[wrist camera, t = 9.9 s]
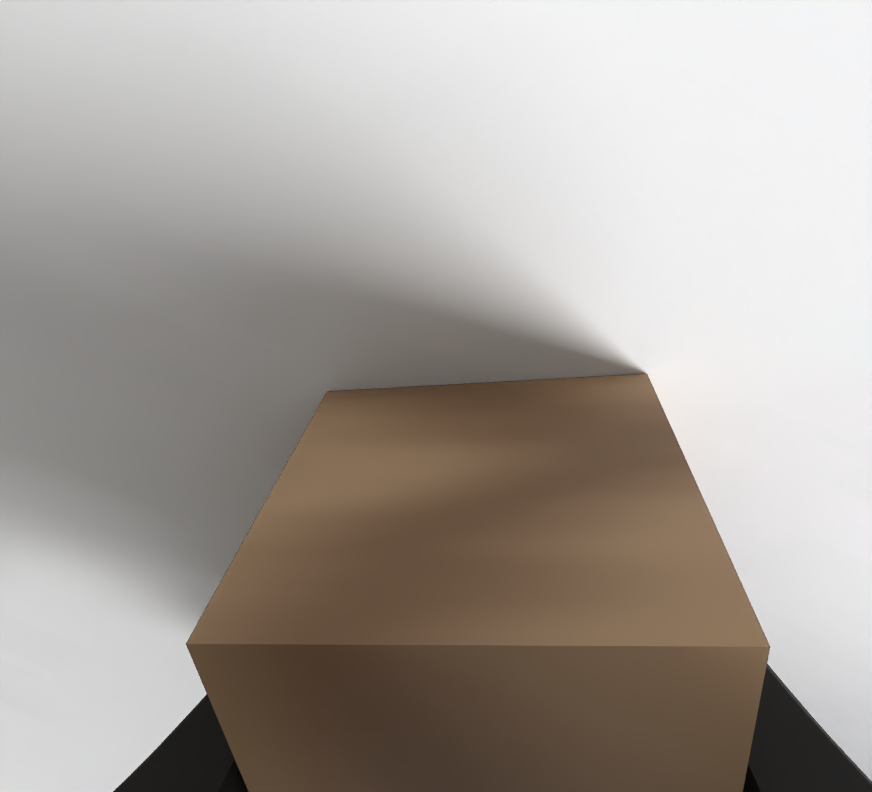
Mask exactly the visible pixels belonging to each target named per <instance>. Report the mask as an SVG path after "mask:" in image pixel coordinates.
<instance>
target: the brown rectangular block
mask: <svg viewBox="0 0 872 792" xmlns="http://www.w3.org/2000/svg"><path fill="white" fill-rule="evenodd" d="M186 645H187V648H188V650H189V652H190V655H191V657H192V659H193V662H194V664H195V666H196V669H197V671H198V673H199V676H200V678H201V681H202V683H203V685H204V688H205V690H206V692H207V695H208V697H209V699H210V702H211V704H212V707H213V709H214V711H215V714H216V716H217V718H218V721H219V723H220V725H221V728H222V730H223V733H224V735H225V737H226V740H227V742H228V744H229V747H230V749H231V751H232V754H233V756H234V759H235V761H236V763H237V766H238V768H239V770H240V773H241V775H242V777H243V780H244V782H245V785H246V787H247V789H248V792H743V787H744V782H745V777H746V771H747V766H748V761H749V756H750V750H751V745H752V740H753V734H754V729H755V724H756V718H757V713H758V708H759V703H760V697H761V692H762V687H763V681H764V676H765V671H766V665H767V660H768V655H769V650H770V646H769V643H768V641H767V639H766V637H765V634H764V632H763V630H762V628H761V626H760V623H759V621H758V619H757V617H756V614H755V612H754V610H753V608H752V606H751V603H750V601H749V599H748V597H747V595H746V592H745V590H744V588H743V586H742V583H741V581H740V579H739V577H738V575H737V572H736V570H735V568H734V566H733V563H732V561H731V559H730V557H729V555H728V552H727V550H726V548H725V546H724V543H723V541H722V539H721V537H720V535H719V532H718V530H717V528H716V526H715V523H714V521H713V519H712V517H711V515H710V512H709V510H708V508H707V506H706V504H705V501H704V499H703V497H702V495H701V492H700V490H699V488H698V486H697V484H696V481H695V479H694V477H693V475H692V472H691V470H690V468H689V466H688V464H687V461H686V459H685V457H684V455H683V452H682V450H681V448H680V446H679V444H678V441H677V439H676V437H675V435H674V432H673V430H672V428H671V426H670V424H669V421H668V419H667V417H666V415H665V413H664V410H663V408H662V406H661V404H660V401H659V399H658V397H657V395H656V393H655V390H654V388H653V386H652V384H651V381H650V379H649V377H648V375H647V374H633V375H615V376H597V377H579V378H562V379H544V380H526V381H508V382H490V383H472V384H454V385H436V386H418V387H400V388H382V389H364V390H346V391H329V392H326V394H325V396H324V398H323V399H322V401H321V403H320V405H319V407H318V408H317V410H316V412H315V414H314V416H313V417H312V419H311V421H310V423H309V425H308V426H307V428H306V430H305V432H304V433H303V435H302V437H301V439H300V441H299V442H298V444H297V446H296V448H295V450H294V451H293V453H292V455H291V457H290V459H289V460H288V462H287V464H286V466H285V468H284V469H283V471H282V473H281V475H280V476H279V478H278V480H277V482H276V484H275V485H274V487H273V489H272V491H271V493H270V494H269V496H268V498H267V500H266V502H265V503H264V505H263V507H262V509H261V510H260V512H259V514H258V516H257V518H256V519H255V521H254V523H253V525H252V527H251V528H250V530H249V532H248V534H247V536H246V537H245V539H244V541H243V543H242V544H241V546H240V548H239V550H238V552H237V553H236V555H235V557H234V559H233V561H232V562H231V564H230V566H229V568H228V570H227V571H226V573H225V575H224V577H223V578H222V580H221V582H220V584H219V586H218V587H217V589H216V591H215V593H214V595H213V596H212V598H211V600H210V602H209V604H208V605H207V607H206V609H205V611H204V612H203V614H202V616H201V618H200V620H199V621H198V623H197V625H196V627H195V629H194V630H193V632H192V634H191V636H190V638H189V639H188V641H187V643H186Z"/></svg>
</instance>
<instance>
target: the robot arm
mask: <svg viewBox="0 0 872 792" xmlns="http://www.w3.org/2000/svg"><path fill="white" fill-rule="evenodd" d="M113 792H248V789H247V787H246V785H245V782H244V780H243V777H242V775H241V773H240V770H239V768H238V766H237V763H236V761H235V759H234V756H233V754H232V751H231V749H230V747H229V744H228V742H227V740H226V737H225V735H224V733H223V730H222V728H221V725H220V723H219V721H218V718H217V716H216V714H215V711H214V709H213V707H212V704H211V702H210V699H209V697H208V695H206V696H205V697H204V698H203V699H202V700H201V701H200V702H199V704H198V705H197V706H196V707H195V708H194V709H193V710H192V711H191V712H190V713H189V714H188V715H187V716H186V718H185V719H184V720H183V721H182V722H181V723H180V724H179V725H178V726H177V727H176V728H175V729H174V731H173V732H172V733H171V734H170V735H169V736H168V737H167V738H166V739H165V740H164V741H163V742H162V743H161V745H160V746H159V747H158V748H157V749H156V750H155V751H154V752H153V753H152V754H151V755H150V756H149V757H148V758H147V759H146V760H145V761H144V762H143V763H142V764H141V765H140V766H139V767H138V768H137V769H136V770H135V771H134V772H133V773H132V774H131V775H130V776H129V777H128V778H127V779H126V780H125V781H124V782H123V783H122V784H121V785H120V786H119V787H118V788H117V789H115V790H114V791H113ZM743 792H872V781H871V780H870V779H869V778H868V777H867V776H866V775H865V774H864V773H863V772H862V771H861V770H860V769H859V768H858V767H857V765H856V764H855V763H854V762H853V761H852V760H851V759H850V758H849V757H848V756H847V755H846V754H845V753H844V751H843V750H842V749H841V748H840V747H839V746H838V745H837V744H836V743H835V742H834V741H833V740H832V739H831V737H830V736H829V735H828V734H827V733H826V732H825V731H824V730H823V728H822V727H821V726H820V725H819V724H818V723H817V722H816V721H815V719H814V718H813V717H812V716H811V715H810V714H809V713H808V711H807V710H806V709H805V708H804V707H803V706H802V704H801V703H800V702H799V701H798V700H797V698H796V697H795V696H794V695H793V694H792V693H791V691H790V690H789V689H788V688H787V687H786V686H785V684H784V683H783V682H782V681H781V680H780V678H779V677H778V676H777V675H776V674H775V673H774V671H773V670H772V669H771V668H770V666H769V665H768V664H767V665H766V671H765V676H764V681H763V687H762V692H761V697H760V703H759V708H758V713H757V718H756V724H755V729H754V734H753V740H752V745H751V750H750V756H749V761H748V766H747V771H746V777H745V782H744V787H743Z"/></svg>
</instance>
